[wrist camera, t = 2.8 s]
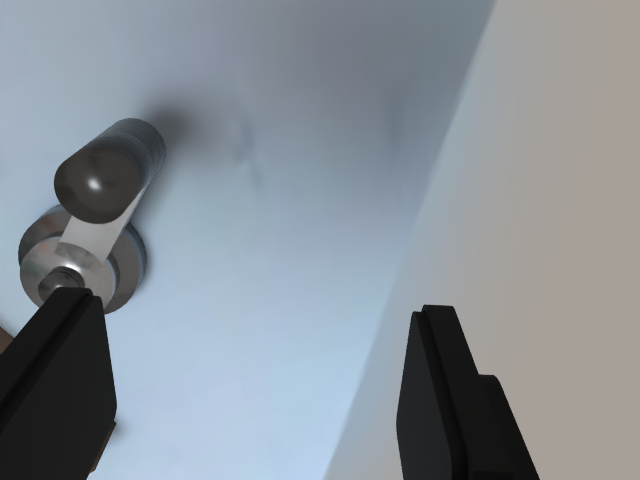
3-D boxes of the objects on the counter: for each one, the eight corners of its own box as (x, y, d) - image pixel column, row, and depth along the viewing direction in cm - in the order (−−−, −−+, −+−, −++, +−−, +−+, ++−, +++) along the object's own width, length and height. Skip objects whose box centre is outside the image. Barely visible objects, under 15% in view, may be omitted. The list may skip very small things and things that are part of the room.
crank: (99, 320, 30) (46, 403, 24) (19, 281, 29) (-56, 357, 23) (200, 142, 25) (164, 193, 20) (109, 88, 24) (45, 126, 19)
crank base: (85, 179, 28) (73, 189, 27) (169, 263, 30) (162, 277, 29) (8, 243, 30) (-7, 256, 28) (93, 319, 32) (82, 335, 30)
